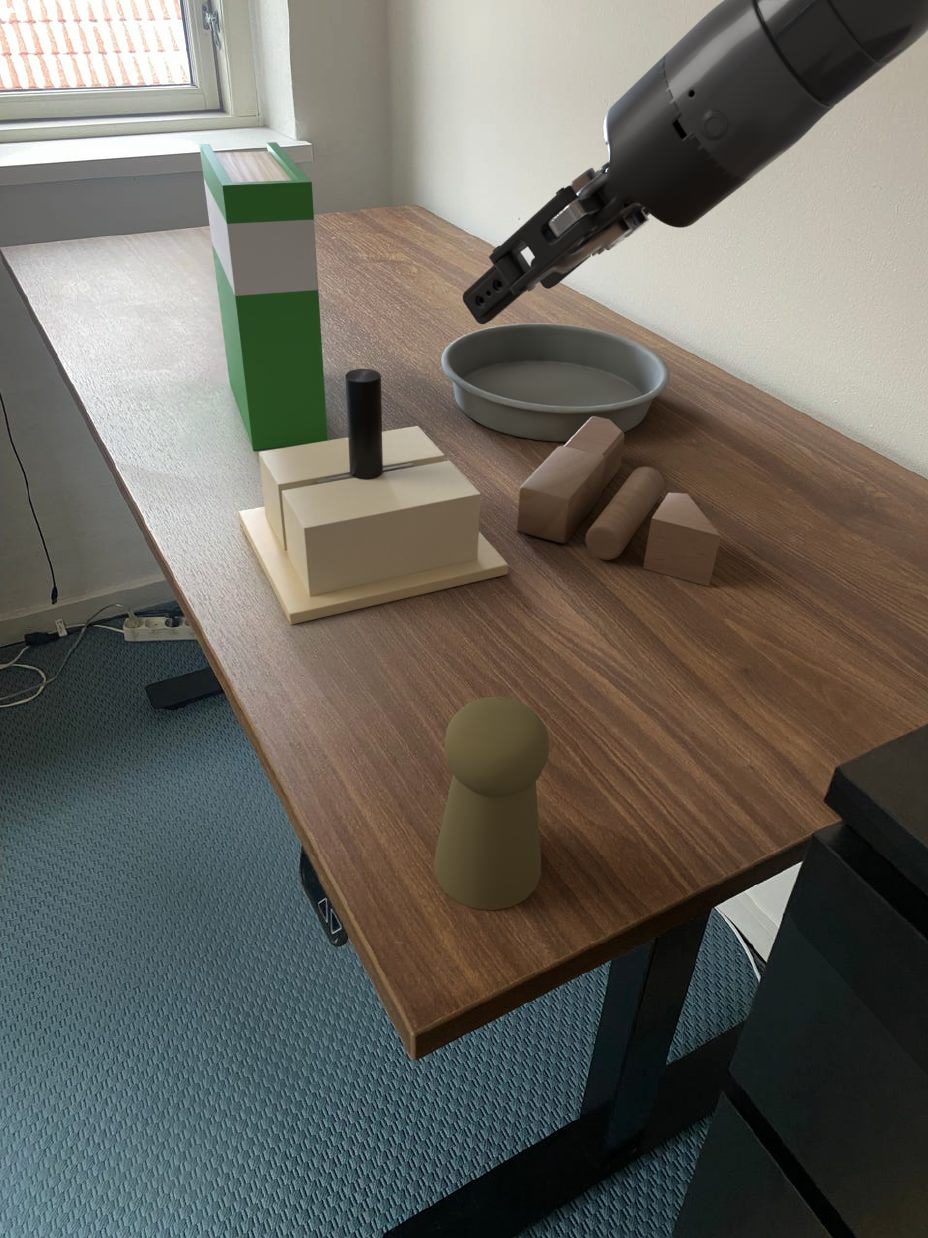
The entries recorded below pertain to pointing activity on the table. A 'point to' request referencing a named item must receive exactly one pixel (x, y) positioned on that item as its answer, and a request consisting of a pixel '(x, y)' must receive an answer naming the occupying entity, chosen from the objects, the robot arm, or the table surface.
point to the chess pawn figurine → (492, 804)
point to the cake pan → (552, 378)
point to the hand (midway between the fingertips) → (507, 292)
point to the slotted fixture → (365, 527)
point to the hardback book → (268, 292)
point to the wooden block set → (615, 506)
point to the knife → (364, 427)
